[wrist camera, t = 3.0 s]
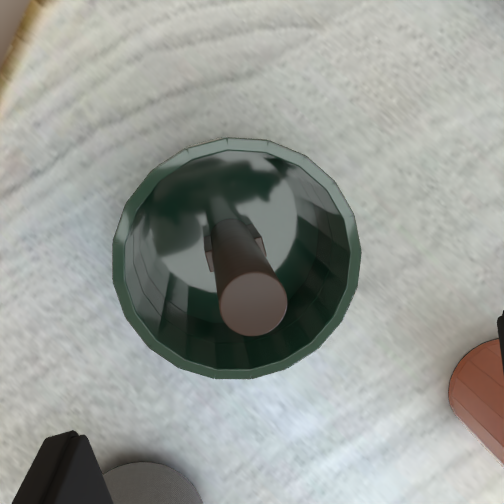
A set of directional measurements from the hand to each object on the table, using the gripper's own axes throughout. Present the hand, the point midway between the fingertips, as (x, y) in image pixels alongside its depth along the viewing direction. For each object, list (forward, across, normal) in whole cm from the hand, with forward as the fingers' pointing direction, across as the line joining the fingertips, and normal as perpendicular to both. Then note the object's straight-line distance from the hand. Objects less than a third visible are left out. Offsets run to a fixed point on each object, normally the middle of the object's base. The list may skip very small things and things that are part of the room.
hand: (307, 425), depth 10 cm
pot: (+20, 0, 0) cm, 20 cm away
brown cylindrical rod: (+20, 0, 0) cm, 20 cm away
